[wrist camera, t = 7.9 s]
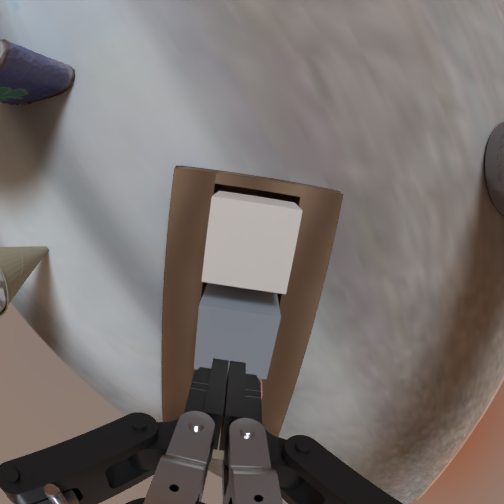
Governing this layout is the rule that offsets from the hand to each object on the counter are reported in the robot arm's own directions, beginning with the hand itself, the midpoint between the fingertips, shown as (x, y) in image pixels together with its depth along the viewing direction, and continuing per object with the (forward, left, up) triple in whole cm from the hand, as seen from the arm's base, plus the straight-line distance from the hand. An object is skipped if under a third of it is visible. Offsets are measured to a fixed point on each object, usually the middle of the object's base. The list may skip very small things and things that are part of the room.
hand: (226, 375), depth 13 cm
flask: (+20, -15, -10) cm, 27 cm away
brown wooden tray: (0, +3, -10) cm, 10 cm away
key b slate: (0, 0, -6) cm, 6 cm away
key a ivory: (0, -5, -6) cm, 8 cm away
